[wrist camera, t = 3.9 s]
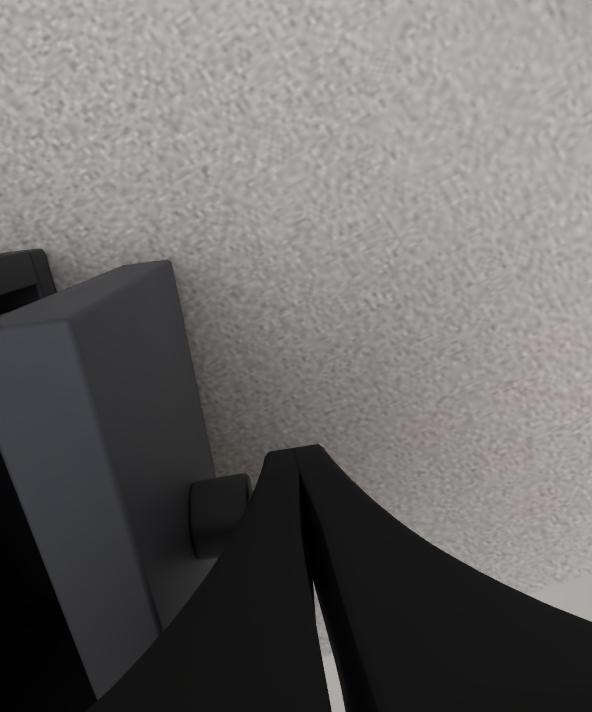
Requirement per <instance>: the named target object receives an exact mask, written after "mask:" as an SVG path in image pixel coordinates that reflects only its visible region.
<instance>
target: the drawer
mask: <svg viewBox="0 0 592 712" xmlns="http://www.w3.org/2000/svg"><path fill="white" fill-rule="evenodd" d="M252 494H253V491H252V486H251V481H250V478H249V476H248V474H245V473H244V474H237V475H231V476H225V477H219V478H216V476H215V471H214V466H213V462H212V457H211V452H210V447H209V442H208V437H207V432H206V428H205V423H204V418H203V413H202V408H201V403H200V398H199V394H198V389H197V384H196V379H195V374H194V369H193V364H192V360H191V355H190V350H189V345H188V340H187V335H186V330H185V326H184V321H183V316H182V311H181V306H180V301H179V297H178V292H177V287H176V282H175V277H174V272H173V267H172V263H171V261H170V260H161V261H153V262H146V263H138V264H130V265H123V266H121V267H118V268H116V269H114V270H111V271H109V272H106V273H104V274H101V275H99V276H96V277H94V278H92V279H89V280H87V281H84V282H82V283H79V284H77V285H74V286H72V287H70V288H67V289H65V290H62V291H60V292H57V293H55V294H53V295H50V296H48V297H45V298H43V299H40V300H38V301H35V302H33V303H31V304H28V305H26V306H23V307H21V308H18V309H16V310H13V311H11V312H3V313H0V712H86V711H87V710H88V709H89V708H90V707H91V706H92V705H93V704H95V703H96V702H97V701H98V700H99V699H100V698H101V697H102V696H103V695H104V694H105V693H106V692H107V691H108V690H109V689H110V688H111V687H112V686H113V685H114V684H115V683H116V682H117V681H118V680H119V679H120V678H121V677H122V676H123V675H124V674H125V673H126V672H127V671H128V670H129V669H130V668H131V667H132V666H133V664H134V663H135V662H136V661H137V660H138V659H139V658H140V657H141V656H142V654H143V653H144V652H145V651H146V650H147V649H148V648H149V647H150V645H151V644H152V643H153V642H154V641H155V640H156V639H157V638H158V637H159V635H160V634H161V633H162V632H163V631H164V630H165V629H166V628H167V626H168V625H169V624H170V623H171V622H172V620H173V619H174V618H175V617H176V615H177V614H178V613H179V612H180V610H181V609H182V608H183V607H184V605H185V604H186V603H187V601H188V600H189V599H190V597H191V596H192V595H193V593H194V592H195V591H196V589H197V588H198V587H199V585H200V584H201V583H202V581H203V580H204V578H205V577H206V576H207V574H208V573H209V571H210V570H211V568H212V567H213V565H214V564H215V562H216V561H217V559H218V557H219V556H220V554H221V553H222V551H223V549H224V548H225V546H226V544H227V543H228V541H229V539H230V538H231V536H232V534H233V532H234V530H235V528H236V526H237V525H238V523H239V521H240V519H241V517H242V515H243V513H244V511H245V509H246V507H247V505H248V503H249V500H250V498H251V496H252Z"/></svg>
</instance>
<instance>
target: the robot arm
mask: <svg viewBox="0 0 592 712" xmlns="http://www.w3.org/2000/svg"><path fill="white" fill-rule="evenodd" d="M313 581H314V585H315V589H316V593H317V596H318V600H319V604H320V607H321V611H322V615H323V619H324V622H325V626H326V630H327V633H328V637H329V641H330V645H331V648H332V652H333V656H334V659H335V663H336V667H337V672H338V676H339V680H340V685H341V689H342V695H343V700H344V706H345V711H346V712H592V622H591V621H588V620H585V619H583V618H580V617H578V616H575V615H573V614H570V613H567V612H565V611H563V610H560V609H557V608H555V607H552V606H550V605H548V604H546V603H543V602H541V601H539V600H537V599H534V598H533V597H530V596H528V595H526V594H524V593H522V592H520V591H518V590H515V589H513V588H511V587H509V586H507V585H505V584H503V583H501V582H499V581H497V580H495V579H493V578H491V577H489V576H487V575H485V574H483V573H481V572H479V571H477V570H476V569H474V568H472V567H470V566H468V565H467V564H465V563H463V562H461V561H460V560H458V559H456V558H454V557H452V556H451V555H449V554H447V553H445V552H444V551H442V550H441V549H439V548H437V547H436V546H434V545H432V544H431V543H429V542H428V541H426V540H425V539H423V538H422V537H420V536H419V535H417V534H416V533H415V532H413V531H412V530H410V529H409V528H408V527H406V526H405V525H403V524H402V523H401V522H400V521H398V520H397V519H396V518H394V517H393V516H392V515H391V514H389V513H388V512H387V511H386V510H385V509H383V508H382V507H381V506H380V505H379V504H377V503H376V502H375V501H374V500H373V499H372V498H371V497H369V496H368V495H367V494H366V493H365V492H364V491H363V490H362V489H361V488H360V487H359V486H358V485H357V484H356V483H355V482H353V481H352V480H351V479H350V478H349V477H348V476H347V475H346V474H345V472H344V471H343V470H342V469H341V468H340V467H339V466H338V465H337V464H336V463H335V462H334V460H333V459H332V458H331V457H330V456H329V455H328V453H327V452H326V451H325V449H324V448H323V447H322V446H320V445H319V444H316V445H309V446H303V447H296V448H290V449H283V450H277V451H270V452H268V454H267V455H266V456H265V458H264V463H263V467H262V470H261V473H260V476H259V479H258V481H257V484H256V487H255V489H254V491H253V494H252V496H251V498H250V500H249V503H248V505H247V507H246V509H245V511H244V513H243V515H242V517H241V519H240V521H239V523H238V525H237V526H236V528H235V530H234V532H233V534H232V536H231V538H230V539H229V541H228V543H227V544H226V546H225V548H224V549H223V551H222V553H221V554H220V556H219V557H218V559H217V561H216V562H215V564H214V565H213V567H212V568H211V570H210V571H209V573H208V574H207V576H206V577H205V578H204V580H203V581H202V583H201V584H200V585H199V587H198V588H197V589H196V591H195V592H194V593H193V595H192V596H191V597H190V599H189V600H188V601H187V603H186V604H185V605H184V607H183V608H182V609H181V610H180V612H179V613H178V614H177V615H176V617H175V618H174V619H173V620H172V622H171V623H170V624H169V625H168V626H167V628H166V629H165V630H164V631H163V632H162V633H161V634H160V635H159V637H158V638H157V639H156V640H155V641H154V642H153V643H152V644H151V645H150V647H149V648H148V649H147V650H146V651H145V652H144V653H143V654H142V656H141V657H140V658H139V659H138V660H137V661H136V662H135V663H134V664H133V666H132V667H131V668H130V669H129V670H128V671H127V672H126V673H125V674H124V675H123V676H122V677H121V678H120V679H119V680H118V681H117V682H116V683H115V684H114V685H113V686H112V687H111V688H110V689H109V690H108V691H107V692H106V693H105V694H104V695H103V696H102V697H101V698H100V699H99V700H98V701H97V702H96V703H95V704H93V705H92V706H91V707H90V708H89V709H88V710H87V711H86V712H332V711H331V705H330V700H329V694H328V689H327V683H326V678H325V672H324V667H323V661H322V656H321V650H320V644H319V639H318V633H317V627H316V617H315V603H314V589H313Z"/></svg>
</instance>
